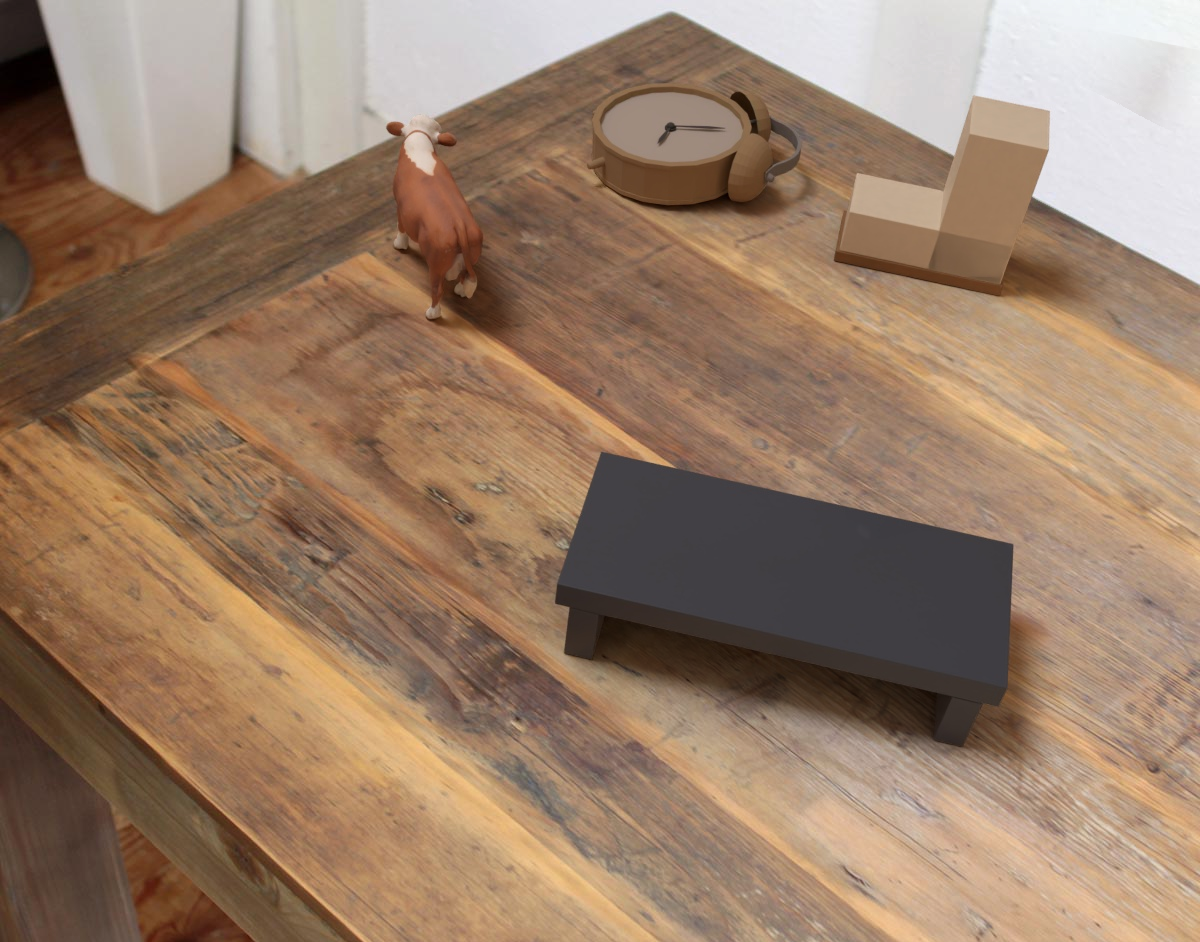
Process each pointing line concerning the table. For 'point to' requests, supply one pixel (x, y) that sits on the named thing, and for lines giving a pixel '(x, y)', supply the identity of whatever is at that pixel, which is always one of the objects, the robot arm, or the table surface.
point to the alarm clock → (686, 144)
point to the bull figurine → (434, 209)
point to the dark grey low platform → (793, 582)
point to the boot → (954, 205)
